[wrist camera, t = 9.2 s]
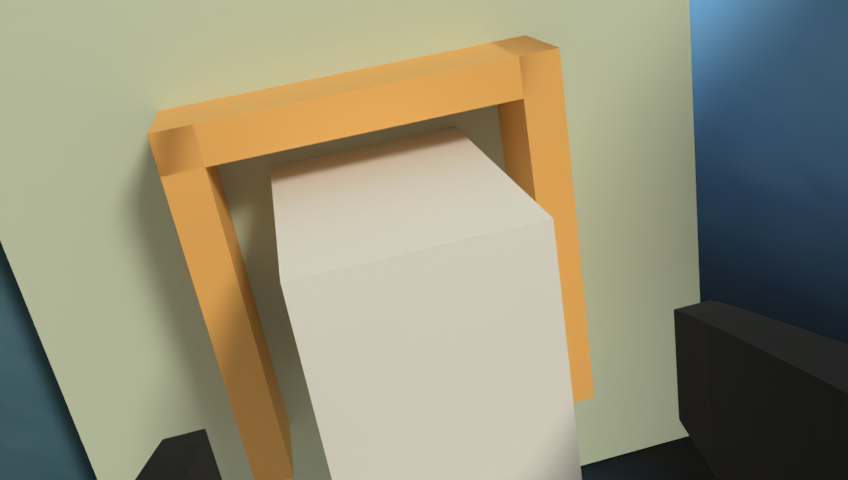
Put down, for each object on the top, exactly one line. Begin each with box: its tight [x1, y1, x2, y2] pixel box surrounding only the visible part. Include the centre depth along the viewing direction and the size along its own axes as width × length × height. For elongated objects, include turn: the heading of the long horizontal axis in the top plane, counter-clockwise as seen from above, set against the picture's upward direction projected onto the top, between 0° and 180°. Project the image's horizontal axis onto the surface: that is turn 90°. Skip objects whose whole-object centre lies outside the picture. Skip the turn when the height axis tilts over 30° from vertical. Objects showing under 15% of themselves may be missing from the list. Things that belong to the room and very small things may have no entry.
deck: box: [0, 0, 700, 480], centre depth 17 cm, size 15×14×3 cm
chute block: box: [270, 127, 582, 480], centre depth 15 cm, size 4×5×6 cm
